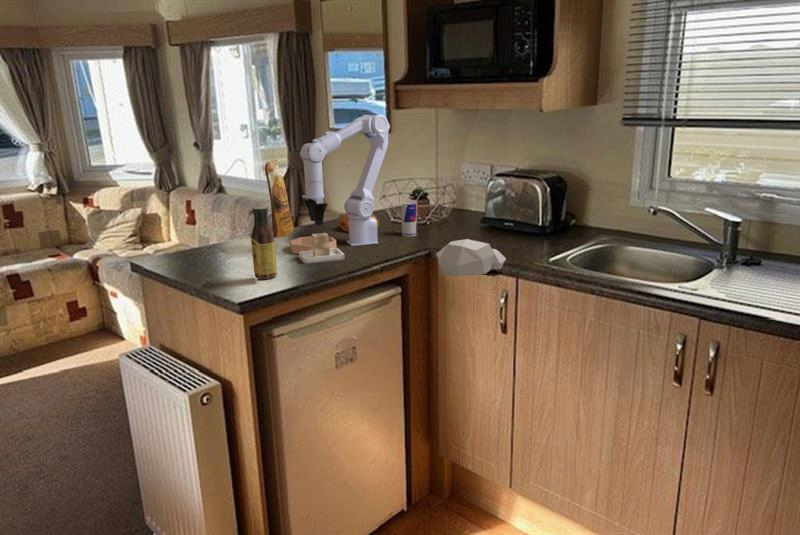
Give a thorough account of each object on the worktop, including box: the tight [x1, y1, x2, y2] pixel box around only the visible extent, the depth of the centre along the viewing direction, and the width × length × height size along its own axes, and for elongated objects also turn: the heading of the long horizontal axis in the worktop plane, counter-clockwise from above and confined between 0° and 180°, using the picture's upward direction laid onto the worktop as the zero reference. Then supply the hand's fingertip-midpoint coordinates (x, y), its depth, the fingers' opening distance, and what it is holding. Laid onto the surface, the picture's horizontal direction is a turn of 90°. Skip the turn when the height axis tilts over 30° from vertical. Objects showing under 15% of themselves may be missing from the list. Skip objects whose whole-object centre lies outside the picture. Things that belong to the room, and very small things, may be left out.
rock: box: [435, 238, 507, 277], centre depth 169 cm, size 18×20×10 cm
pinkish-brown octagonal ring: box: [289, 235, 338, 255], centre depth 201 cm, size 15×15×3 cm
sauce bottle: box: [250, 205, 278, 280], centre depth 166 cm, size 6×6×20 cm
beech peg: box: [311, 232, 330, 257], centre depth 188 cm, size 4×4×7 cm
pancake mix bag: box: [264, 159, 294, 239], centre depth 223 cm, size 7×19×28 cm, turn 172°
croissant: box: [338, 213, 380, 233], centre depth 230 cm, size 14×16×8 cm
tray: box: [298, 247, 346, 265], centre depth 189 cm, size 13×10×2 cm
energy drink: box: [401, 201, 418, 238], centre depth 219 cm, size 5×5×12 cm
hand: (316, 222), depth 198 cm, fingers open, 7 cm apart
